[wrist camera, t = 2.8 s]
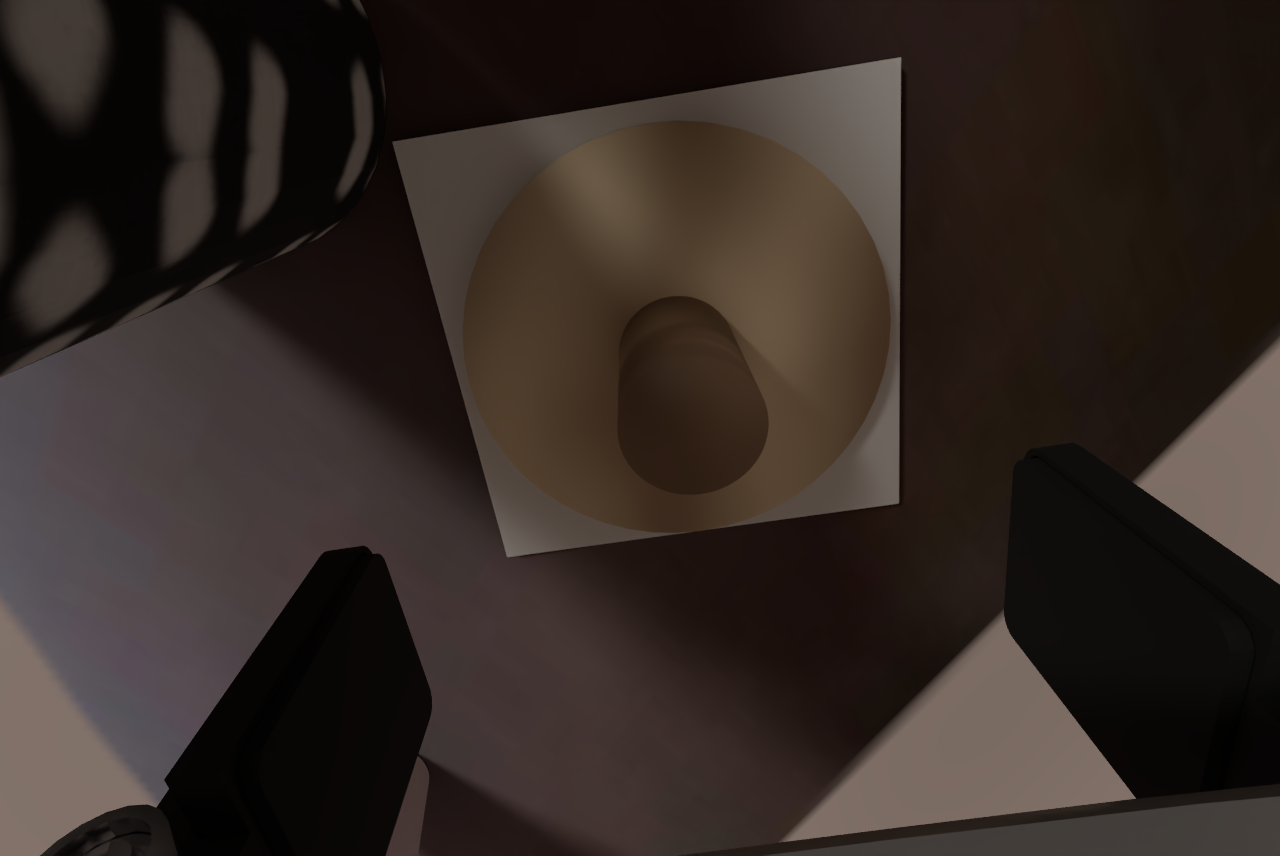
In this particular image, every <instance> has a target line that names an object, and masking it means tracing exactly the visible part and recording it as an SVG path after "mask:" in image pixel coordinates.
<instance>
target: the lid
mask: <svg viewBox="0 0 1280 856" xmlns="http://www.w3.org/2000/svg"><path fill="white" fill-rule="evenodd" d="M890 327H891V316H890V302H889V292H888V287H887V282H886V278H885V273H884V268H883V265H882V262H881V260H880V257H879V254H878V251H877V249H876V246H875V243H874V241H873V239H872V237H871V235H870V233H869V231H868V230H867V228H866V226H865V224H864V222H863V220H862V218H861V217H860V215H859V214H858V212H857V211H856V210H855V208H854V207H853V206H852V204H851V203H850V202H849V200H848V199H847V198H846V196H845V195H844V194H843V192H842V191H841V190H840V189H839V188H838V187H837V186H836V185H835V184H834V183H833V182H832V181H831V180H830V179H829V178H828V177H827V176H826V175H825V174H824V173H823V172H821V171H820V170H819V169H817V168H816V167H815V166H813V165H812V164H811V163H809V162H808V161H807V160H805V159H804V158H802V157H801V156H800V155H798V154H797V153H795V152H793V151H791V150H789V149H788V148H786V147H784V146H782V145H780V144H778V143H776V142H774V141H772V140H770V139H768V138H765V137H762V136H759V135H757V134H754V133H751V132H748V131H745V130H742V129H739V128H734V127H729V126H724V125H719V124H714V123H709V122H696V121H665V122H654V123H645V124H640V125H636V126H632V127H628V128H624V129H619V130H615V131H613V132H610V133H608V134H605V135H603V136H600V137H598V138H595V139H593V140H590V141H588V142H586V143H584V144H582V145H580V146H579V147H577V148H575V149H573V150H572V151H570V152H568V153H566V154H565V155H563V156H561V157H560V158H559V159H557V160H556V161H555V162H553V163H552V164H551V165H549V166H548V167H547V168H545V169H544V170H543V171H542V172H540V173H539V174H538V175H536V176H535V177H534V178H533V179H532V180H531V181H530V182H529V183H528V184H527V185H526V186H525V187H524V188H523V189H522V190H521V191H520V192H519V193H518V194H517V195H516V196H515V197H514V198H513V199H512V201H511V202H510V203H509V205H508V206H507V207H506V209H505V210H504V212H503V213H502V214H501V216H500V217H499V218H498V220H497V221H496V222H495V224H494V226H493V228H492V229H491V231H490V233H489V235H488V237H487V239H486V240H485V242H484V244H483V246H482V248H481V250H480V253H479V255H478V258H477V261H476V263H475V266H474V269H473V271H472V274H471V277H470V282H469V286H468V291H467V296H466V300H465V306H464V319H463V347H464V360H465V365H466V370H467V375H468V380H469V384H470V387H471V390H472V393H473V396H474V399H475V402H476V405H477V408H478V410H479V412H480V414H481V416H482V418H483V420H484V422H485V424H486V426H487V428H488V430H489V432H490V433H491V435H492V436H493V438H494V439H495V441H496V442H497V444H498V445H499V447H500V448H501V450H502V451H503V453H504V454H505V455H506V456H507V457H508V458H509V460H510V461H511V462H512V463H513V464H514V465H515V466H516V468H517V469H518V470H519V471H520V472H521V473H522V474H523V475H524V476H526V477H527V478H528V479H529V480H530V481H531V482H532V483H533V484H534V485H536V486H537V487H538V488H539V489H541V490H542V491H543V492H545V493H546V494H548V495H549V496H551V497H552V498H554V499H555V500H556V501H558V502H560V503H561V504H563V505H565V506H567V507H569V508H571V509H573V510H575V511H577V512H578V513H580V514H583V515H585V516H588V517H590V518H593V519H596V520H598V521H601V522H603V523H607V524H611V525H615V526H619V527H622V528H626V529H632V530H639V531H646V532H660V533H683V532H695V531H704V530H709V529H714V528H719V527H724V526H728V525H731V524H734V523H738V522H741V521H744V520H747V519H750V518H752V517H755V516H757V515H759V514H762V513H764V512H766V511H768V510H771V509H773V508H775V507H776V506H778V505H780V504H781V503H783V502H785V501H787V500H788V499H790V498H792V497H794V496H795V495H796V494H798V493H799V492H800V491H802V490H803V489H804V488H806V487H807V486H809V485H810V484H811V483H813V482H814V481H815V480H816V479H817V478H818V477H819V476H820V475H821V474H823V473H824V472H825V471H826V470H827V469H828V468H829V467H830V466H831V465H832V464H833V463H834V462H835V461H836V460H837V458H838V457H839V456H840V455H841V454H842V452H843V451H844V450H845V449H846V448H847V447H848V445H849V444H850V443H851V441H852V440H853V438H854V437H855V435H856V433H857V432H858V430H859V429H860V427H861V426H862V424H863V423H864V421H865V419H866V417H867V415H868V413H869V411H870V409H871V407H872V405H873V403H874V401H875V398H876V395H877V392H878V390H879V387H880V384H881V381H882V378H883V375H884V371H885V366H886V361H887V356H888V351H889V342H890Z"/></svg>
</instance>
